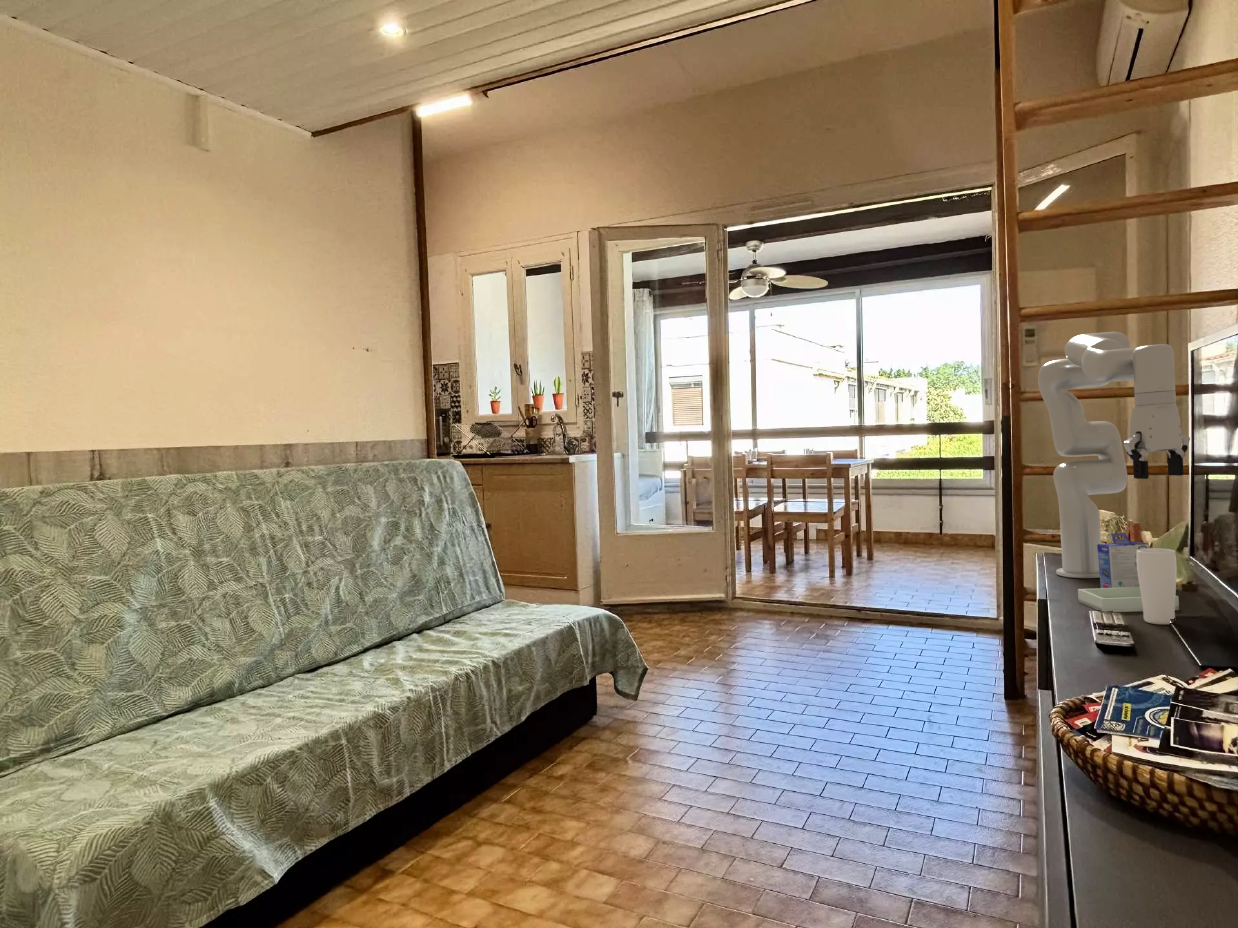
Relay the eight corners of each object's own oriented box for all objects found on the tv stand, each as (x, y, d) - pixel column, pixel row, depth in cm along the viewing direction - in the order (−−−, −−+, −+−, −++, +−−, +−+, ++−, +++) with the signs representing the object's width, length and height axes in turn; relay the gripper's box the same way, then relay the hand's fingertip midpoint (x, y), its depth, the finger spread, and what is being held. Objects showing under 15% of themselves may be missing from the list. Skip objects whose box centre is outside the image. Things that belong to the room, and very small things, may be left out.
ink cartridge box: (1138, 589, 190) (1135, 531, 190) (1153, 593, 184) (1150, 533, 184) (1098, 591, 190) (1095, 533, 190) (1112, 596, 185) (1109, 536, 184)
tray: (1078, 601, 181) (1077, 589, 181) (1149, 599, 179) (1149, 586, 179) (1102, 612, 170) (1101, 598, 170) (1179, 609, 168) (1178, 596, 168)
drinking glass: (1167, 627, 154) (1163, 553, 154) (1132, 621, 160) (1128, 550, 160) (1186, 622, 157) (1183, 549, 157) (1152, 616, 163) (1148, 547, 163)
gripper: (1170, 399, 177) (1173, 473, 177) (1109, 403, 172) (1112, 479, 173) (1201, 397, 169) (1205, 474, 170) (1139, 401, 165) (1142, 480, 166)
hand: (1158, 476), depth 171 cm, fingers open, 9 cm apart
